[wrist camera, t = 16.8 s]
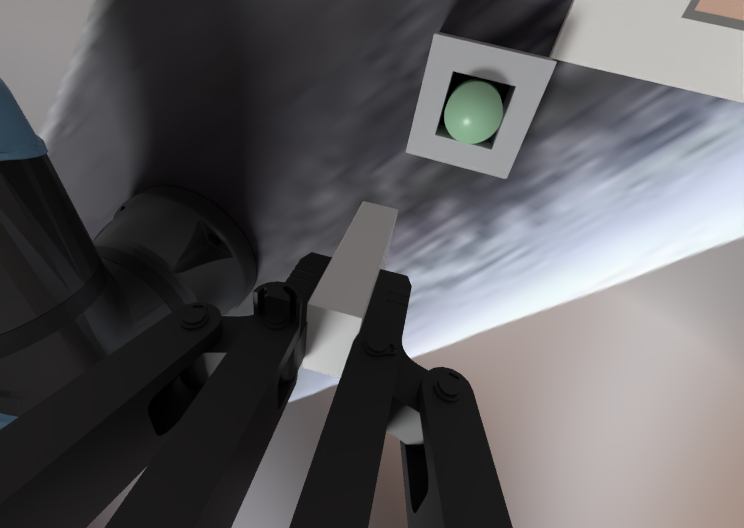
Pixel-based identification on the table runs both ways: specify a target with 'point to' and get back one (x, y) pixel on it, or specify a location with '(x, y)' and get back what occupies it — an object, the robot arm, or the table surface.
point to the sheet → (660, 42)
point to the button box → (489, 63)
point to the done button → (473, 111)
